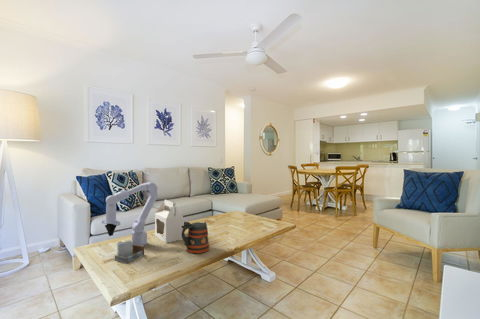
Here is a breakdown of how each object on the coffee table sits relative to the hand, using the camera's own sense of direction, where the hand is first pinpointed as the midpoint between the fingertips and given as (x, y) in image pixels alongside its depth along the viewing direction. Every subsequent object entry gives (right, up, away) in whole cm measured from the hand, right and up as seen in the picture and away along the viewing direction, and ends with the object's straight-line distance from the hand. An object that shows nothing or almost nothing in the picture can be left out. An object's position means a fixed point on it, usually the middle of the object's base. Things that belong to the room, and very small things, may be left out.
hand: (110, 235), depth 145 cm
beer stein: (+54, -11, +2) cm, 55 cm away
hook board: (+12, -10, -8) cm, 17 cm away
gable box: (+29, -11, +27) cm, 41 cm away
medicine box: (+14, -10, -9) cm, 19 cm away
